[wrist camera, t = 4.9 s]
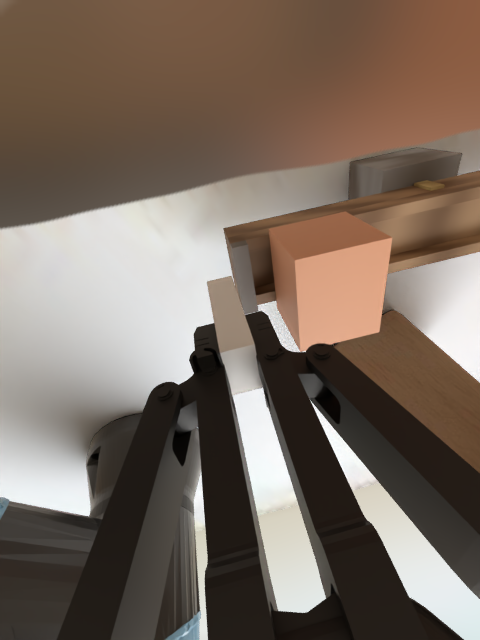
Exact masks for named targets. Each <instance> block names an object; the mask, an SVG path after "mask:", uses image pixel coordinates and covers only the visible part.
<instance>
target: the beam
mask: <svg viewBox="0 0 480 640" xmlns="http://www.w3.org/2000/svg"><path fill="white" fill-rule="evenodd" d="M461 156H462V153H455V152H447V151H439V150H431V149H424V148H413V149H408V150H403V151H399V152H394V153H390V154H385V155H381V156H376V157H371V158H367V159H362V160H358V161H353V162H350V174H349V196H348V200H347V201H343V202H338V203H334V204H329V205H325V206H321V207H316V208H312V209H307V210H303V211H298V212H294V213H290V214H285V215H281V216H276V217H272V218H267V219H263V220H258V221H254V222H250V223H245V224H241V225H236V226H232V227H227V228H223V229H224V234H225V239H226V244H227V249H228V253H229V258H230V263H231V268H232V273H233V278H234V283H235V288H236V291H237V294H238V297H239V300H240V303H241V305H242V308H243V311H244V314H248V313H253V312H257V311H258V306H257V305H259V304H263V303H268V302H272V301H276V292H275V283H274V274H273V265H272V256H271V247H270V238H269V229H270V228H274V227H279V226H283V225H288V224H292V223H296V222H301V221H305V220H310V219H314V218H318V217H323V216H327V215H332V214H336V213H340V212H345V211H346V212H347V213H349V214H351V215H353V216H355V217H356V218H358V219H360V220H362V221H364V222H365V223H367V224H369V225H371V226H373V227H374V228H376V229H378V230H380V231H382V232H383V233H385V234H387V235H389V236H391V237H392V244H391V252H390V259H389V266H388V273H387V274H389V273H393V272H397V271H401V270H405V269H409V268H414V267H418V266H422V265H426V264H430V263H434V262H439V261H443V260H447V259H451V258H455V257H459V256H464V255H468V254H472V253H476V252H480V171H476V172H471V173H467V174H463V175H458V176H457V173H458V169H459V164H460V160H461Z"/></svg>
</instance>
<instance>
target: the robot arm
mask: <svg viewBox="0 0 480 640" xmlns="http://www.w3.org/2000/svg"><path fill="white" fill-rule="evenodd" d="M207 285H208V291H209V296H210V302H211V307H212V312H213V318H214V323H213V324H209V325H205V326H201V327H197V329H196V331H195V333H194V344H195V351H194V352H193V353H192V354H191V356H190V359H189V361H190V364H191V366H192V369H193V372H194V374H193V376H192V377H191V378H189V379H188V380H187V381H185V382H183V383H181V384H179V385H178V384H176V383H174V382H165V383H162V384H160V385H158V386H156V387H155V388H154V389H153V390H152V391H151V393H150V395H149V397H148V400H147V403H146V405H145V408H144V410H143V413H142V414H136V415H131V416H127V417H123V418H120V419H118V420H115V421H113V422H111V423H109V424H108V425H106V426H104V427H103V428H102V429H101V430H99V431H98V432H97V433H96V435H95V436H94V437H93V439H92V441H91V444H90V448H89V452H88V456H87V461H86V469H87V478H88V487H89V496H90V505H91V511H90V516H89V517H88V516H83V515H78V514H73V513H68V512H63V511H57V510H52V509H47V508H42V507H37V506H32V505H27V504H22V503H16V502H11V501H9V500H8V499H6V498H3V497H0V640H199V620H200V618H201V612H200V606H199V589H198V573H197V556H196V540H195V523H194V496H195V492H196V488H197V484H198V480H199V476H200V472H202V486H203V499H204V513H205V527H206V540H207V554H208V564H207V568H206V571H205V596H206V612H207V628H208V640H464V639H462V638H461V637H460V636H459V635H458V634H456V633H455V632H454V631H453V630H451V629H450V628H449V627H448V626H447V625H446V624H444V623H443V622H442V621H441V620H440V619H438V618H437V617H436V616H435V615H434V614H433V613H431V612H430V611H429V610H427V609H426V608H425V607H424V606H422V605H421V604H419V603H418V602H416V601H415V600H413V599H411V598H409V596H408V594H407V592H406V590H405V588H404V586H403V584H402V582H401V580H400V578H399V576H398V574H397V571H396V569H395V567H394V565H393V563H392V561H391V559H390V557H389V555H388V553H387V551H386V548H385V546H384V544H383V542H382V540H381V538H380V536H379V535H378V533H377V531H376V529H375V528H374V526H373V525H372V524H371V523H370V522H369V521H367V520H366V518H365V517H364V515H363V513H362V511H361V509H360V507H359V505H358V502H357V500H356V498H355V496H354V494H353V492H352V489H351V487H350V485H349V483H348V481H347V479H346V477H345V474H344V472H343V470H342V468H341V466H340V464H339V462H338V459H337V457H336V455H335V453H334V451H333V449H332V447H331V444H330V442H329V440H328V438H327V436H326V434H325V432H324V429H323V427H322V425H321V423H320V421H319V419H318V416H317V414H316V412H315V410H314V408H313V406H312V404H311V401H312V403H313V404H314V405H315V406H316V407H317V409H318V410H319V411H320V412H321V413H322V415H323V416H324V417H325V418H326V419H327V421H328V422H329V423H330V424H331V425H332V427H333V428H334V429H335V430H336V431H337V432H338V434H339V435H340V436H341V437H342V438H343V440H344V441H345V442H346V443H347V444H348V446H349V447H350V448H351V449H352V450H353V452H354V453H355V454H356V455H357V456H358V458H359V459H360V460H361V461H362V462H363V464H364V465H365V466H366V467H367V468H368V470H369V471H370V472H371V473H372V474H373V476H374V477H375V478H376V479H377V480H378V482H379V483H380V484H381V485H382V486H383V487H384V489H385V490H386V491H387V492H388V493H389V495H390V496H391V497H392V498H393V499H394V501H395V502H396V503H397V504H398V505H399V507H400V508H401V509H402V510H403V511H404V513H405V514H406V515H407V516H408V517H409V519H410V520H411V521H412V522H413V523H414V525H415V526H416V527H417V528H418V529H419V531H420V532H421V533H422V534H423V535H424V537H425V538H426V539H427V540H428V541H429V542H430V544H431V545H432V546H433V547H434V548H435V550H436V551H437V552H438V553H439V554H440V555H441V557H442V558H443V559H444V560H445V562H446V563H447V564H448V565H449V566H450V568H451V569H452V570H453V571H454V572H455V573H456V574H457V575H458V577H459V578H460V579H461V580H462V581H463V582H464V583H465V584H466V586H467V587H468V588H469V589H470V590H471V591H472V592H473V593H474V594H475V595H476V596H477V597H478V598H479V599H480V473H479V472H478V471H477V470H476V469H474V468H473V467H472V466H471V465H470V464H469V463H468V462H466V461H465V460H464V459H463V458H462V457H461V456H459V455H458V454H457V453H456V452H455V451H454V450H452V449H451V448H450V447H449V446H448V445H447V444H446V443H444V442H443V441H442V440H441V439H440V438H439V437H437V436H436V435H435V434H434V433H433V432H432V431H431V430H429V429H428V428H427V427H426V426H425V425H424V424H422V423H421V422H420V421H419V420H418V419H417V418H415V417H414V416H413V415H412V414H411V413H410V412H409V411H407V410H406V409H405V408H404V407H403V406H402V405H400V404H399V403H398V402H397V401H396V400H395V399H394V398H392V397H391V396H390V395H389V394H388V393H387V392H385V391H384V390H383V389H382V388H381V387H380V386H378V385H377V384H376V383H375V382H374V381H373V380H372V379H370V378H369V377H368V376H367V375H366V374H365V373H363V372H362V371H361V370H360V369H359V368H358V367H357V366H355V365H354V364H353V363H352V362H351V361H350V360H348V359H347V358H346V357H345V356H344V355H343V354H341V353H340V352H339V351H338V350H337V349H336V348H335V347H333V346H331V345H329V344H325V343H317V344H314V345H311V346H310V347H308V349H307V350H306V352H291V351H288V350H286V349H285V348H284V347H283V346H282V345H281V344H280V341H279V339H278V337H277V335H276V333H275V330H274V328H273V326H272V324H271V322H270V319H269V317H268V315H266V314H265V313H264V312H262V311H259V312H255V313H251V314H247V315H245V314H244V312H243V309H242V306H241V303H240V300H239V297H238V294H237V291H236V288H235V285H234V282H233V279H232V277H231V276H229V277H224V278H220V279H216V280H212V281H208V282H207ZM259 388H263V389H264V394H265V399H266V405H267V407H268V408H269V411H270V414H271V418H272V421H273V424H274V427H275V430H276V434H277V437H278V440H279V443H280V446H281V450H282V453H283V456H284V459H285V462H286V466H287V469H288V472H289V475H290V478H291V482H292V485H293V488H294V491H295V495H296V498H297V501H298V504H299V507H300V511H301V513H302V517H303V520H304V523H305V527H306V530H307V533H308V536H309V539H310V542H311V546H312V549H313V552H314V555H315V559H316V562H317V566H318V569H319V573H320V578H321V581H322V585H323V589H324V592H325V595H326V599H325V600H324V601H322V602H321V603H320V604H318V605H317V606H316V607H314V608H313V609H312V610H310V611H309V612H307V613H295V612H294V613H293V612H283V611H282V612H281V611H278V609H277V605H276V600H275V596H274V592H273V587H272V584H271V579H270V574H269V570H268V565H267V560H266V555H265V550H264V545H263V540H262V536H261V531H260V526H259V521H258V516H257V511H256V506H255V501H254V497H253V492H252V487H251V482H250V477H249V472H248V467H247V462H246V458H245V453H244V448H243V443H242V438H241V433H240V428H239V424H238V419H237V414H236V409H235V404H234V401H233V397H232V395H235V394H239V393H243V392H247V391H251V390H255V389H259ZM309 398H310V399H309ZM310 400H311V401H310ZM196 427H198V429H197V428H196Z"/></svg>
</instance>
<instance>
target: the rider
mask: <svg viewBox="0 0 480 640" xmlns="http://www.w3.org/2000/svg"><path fill="white" fill-rule="evenodd" d="M269 238H270V247H271V256H272V265H273V274H274V283H275V292H276V301H277V309H278V311H279V312H280V314H281V316H282V318H283V320H284V322H285V324H286V326H287V327H288V329H289V331H290V333H291V335H292V337H293V339H294V341H295V343H296V344H297V346H298V348H299V350H300V352H302V351H306V350H307V349H308V347H310V346H311V345H314V344H317V343H325V344H329V345H330V344H334V343H338V342H342V341H346V340H350V339H354V338H358V337H362V336H366V335H370V334H374V333H378V332H379V331H380V324H381V317H382V309H383V302H384V295H385V288H386V280H387V273H388V266H389V259H390V252H391V244H392V237H391V236H389V235H387V234H385V233H383V232H382V231H380V230H378V229H376V228H374V227H373V226H371V225H369V224H367V223H365V222H364V221H362V220H360V219H358V218H356V217H355V216H353V215H351V214H349V213H347V212H346V211H345V212H340V213H336V214H332V215H327V216H323V217H318V218H314V219H310V220H305V221H301V222H296V223H292V224H288V225H283V226H279V227H274V228H270V229H269Z"/></svg>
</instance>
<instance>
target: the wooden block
mask: <svg viewBox="0 0 480 640" xmlns="http://www.w3.org/2000/svg"><path fill="white" fill-rule="evenodd" d="M334 347H335V348H336V349H337V350H338V351H339V352H340V353H341V354H343V355H344V356H345V357H346V358H347V359H348V360H350V361H351V362H352V363H353V364H354V365H355V366H357V367H358V368H359V369H360V370H361V371H362V372H363V373H365V374H366V375H367V376H368V377H369V378H370V379H372V380H373V381H374V382H375V383H376V384H377V385H378V386H380V387H381V388H382V389H383V390H384V391H385V392H387V393H388V394H389V395H390V396H391V397H392V398H394V399H395V400H396V401H397V402H398V403H399V404H400V405H402V406H403V407H404V408H405V409H406V410H407V411H409V412H410V413H411V414H412V415H413V416H414V417H415V418H417V419H418V420H419V421H420V422H421V423H422V424H424V425H425V426H426V427H427V428H428V429H429V430H431V431H432V432H433V433H434V434H435V435H436V436H437V437H439V438H440V439H441V440H442V441H443V442H444V443H446V444H447V445H448V446H449V447H450V448H451V449H452V450H454V451H455V452H456V453H457V454H458V455H459V456H461V457H462V458H463V459H464V460H465V461H466V462H468V463H469V464H470V465H471V466H472V467H473V468H474V469H476V470H477V471H478V472H479V473H480V383H479V382H478V381H477V380H476V379H475V378H474V377H472V376H471V375H470V374H469V373H468V372H467V371H466V370H464V369H463V368H462V367H461V366H460V365H459V364H458V363H456V362H455V361H454V360H453V359H452V358H451V357H450V356H448V355H447V354H446V353H445V352H444V351H443V350H442V349H440V348H439V347H438V346H437V345H436V344H435V343H434V342H432V341H431V340H430V339H429V338H428V337H427V336H426V335H424V334H423V333H422V332H421V331H420V330H419V329H418V328H416V327H415V326H414V325H413V324H412V323H411V322H410V321H408V320H407V319H406V318H405V317H404V316H403V315H402V314H400V313H398V312H396V311H394V310H393V311H389V312H387V313H385V314H384V315H382V317H381V324H380V331H379V332H378V333H374V334H370V335H366V336H362V337H358V338H354V339H350V340H346V341H342V342H340V343H338V344H337V345H335V346H334Z"/></svg>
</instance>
